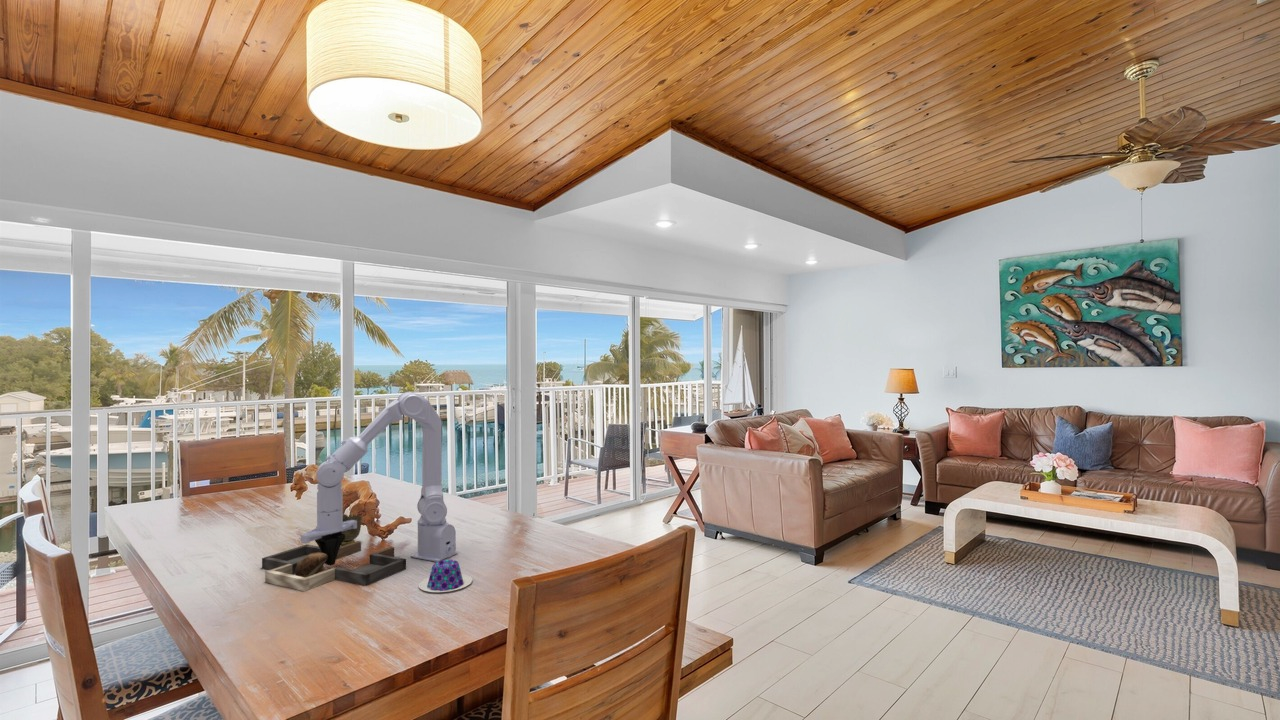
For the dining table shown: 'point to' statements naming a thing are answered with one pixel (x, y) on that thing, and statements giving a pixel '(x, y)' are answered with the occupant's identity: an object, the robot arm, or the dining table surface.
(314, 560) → the mushroom
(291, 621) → the dining table surface
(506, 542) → the dining table surface
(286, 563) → the grey brown flat frame
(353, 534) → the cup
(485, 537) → the dining table surface
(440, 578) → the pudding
